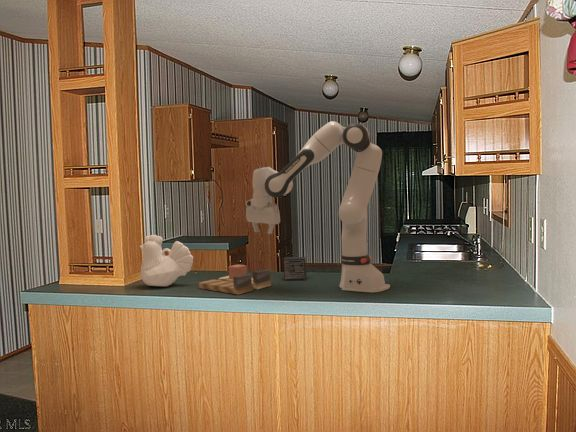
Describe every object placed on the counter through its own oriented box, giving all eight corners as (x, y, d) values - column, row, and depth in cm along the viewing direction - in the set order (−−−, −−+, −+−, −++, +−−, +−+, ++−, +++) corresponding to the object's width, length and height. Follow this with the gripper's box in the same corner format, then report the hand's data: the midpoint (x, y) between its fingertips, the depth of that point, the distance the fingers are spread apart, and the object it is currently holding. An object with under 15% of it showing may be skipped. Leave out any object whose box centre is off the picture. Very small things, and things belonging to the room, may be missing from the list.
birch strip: (271, 285, 257) (270, 269, 256) (257, 289, 250) (256, 272, 249) (232, 280, 274) (231, 264, 273) (218, 283, 267) (217, 267, 266)
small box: (306, 277, 274) (306, 256, 273) (305, 280, 268) (305, 258, 267) (285, 277, 275) (284, 256, 274) (284, 280, 269) (283, 259, 268)
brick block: (247, 277, 265) (246, 265, 264) (237, 280, 260) (237, 267, 260) (238, 276, 269) (237, 264, 268) (229, 278, 264) (228, 266, 264)
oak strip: (252, 290, 248) (251, 273, 247) (238, 294, 241) (237, 277, 240) (213, 284, 265) (212, 268, 264) (199, 288, 258) (198, 272, 258)
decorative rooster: (135, 289, 262) (132, 237, 260) (151, 282, 277) (147, 232, 275) (185, 290, 256) (181, 236, 254) (198, 282, 271) (195, 232, 269)
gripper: (283, 203, 247) (283, 234, 249) (254, 201, 262) (254, 230, 264) (272, 203, 243) (272, 235, 244) (243, 202, 258) (244, 231, 259)
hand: (263, 232), depth 254 cm, fingers open, 8 cm apart
